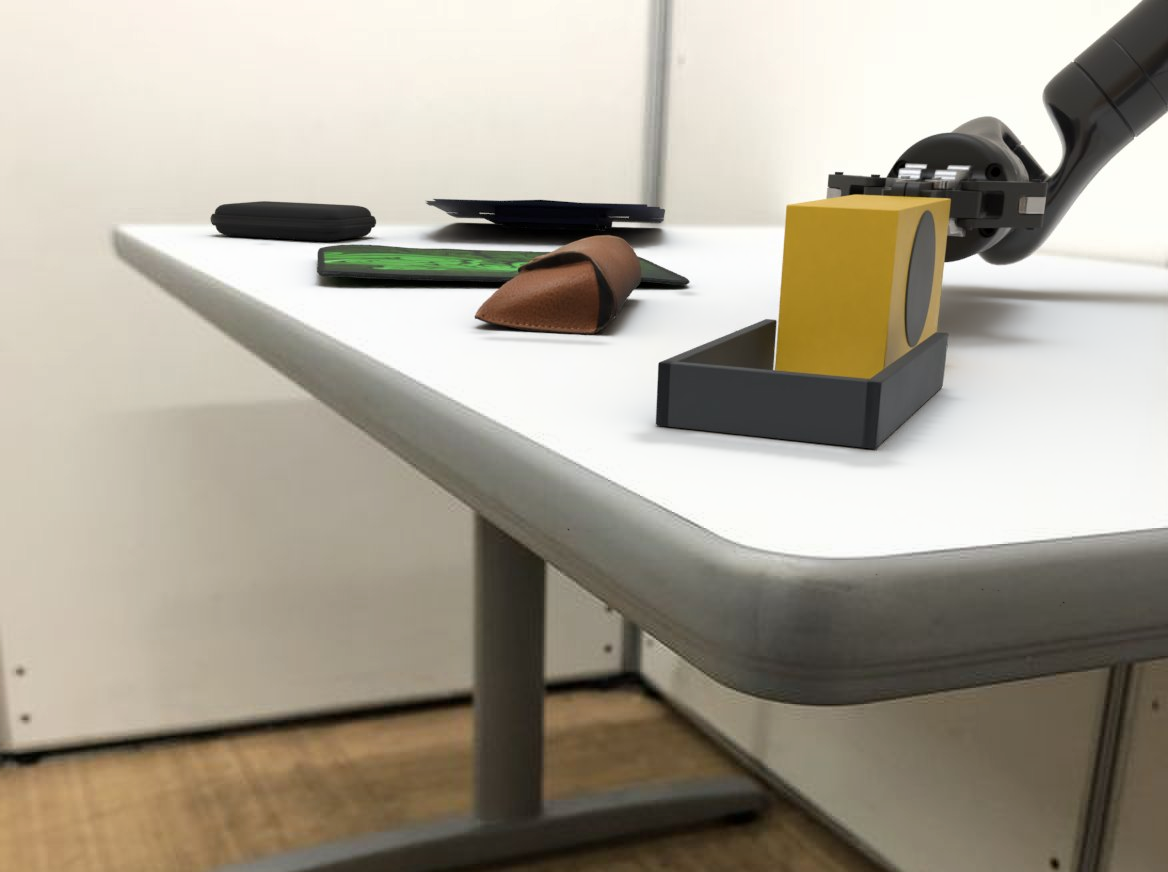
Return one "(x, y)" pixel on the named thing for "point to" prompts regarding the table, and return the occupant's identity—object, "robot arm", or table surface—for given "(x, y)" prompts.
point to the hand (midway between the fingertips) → (903, 204)
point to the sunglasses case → (567, 288)
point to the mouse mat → (446, 264)
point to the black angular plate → (550, 213)
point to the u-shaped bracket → (792, 392)
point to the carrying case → (293, 220)
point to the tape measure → (859, 282)
